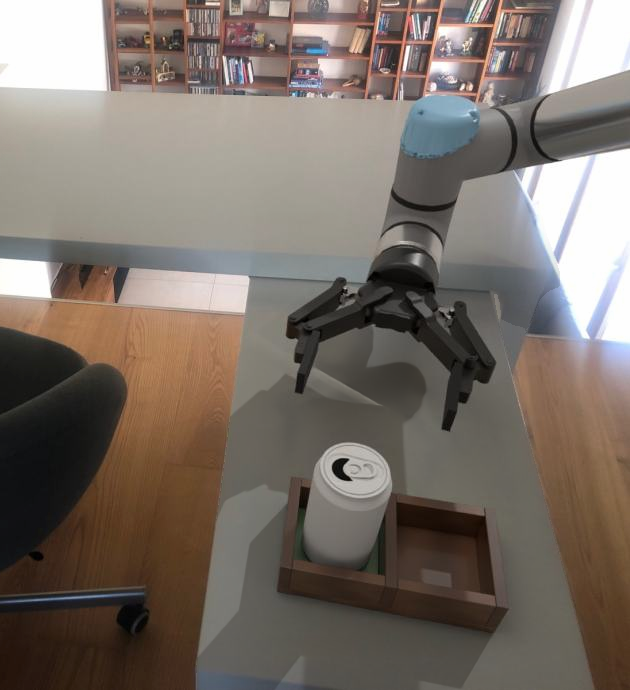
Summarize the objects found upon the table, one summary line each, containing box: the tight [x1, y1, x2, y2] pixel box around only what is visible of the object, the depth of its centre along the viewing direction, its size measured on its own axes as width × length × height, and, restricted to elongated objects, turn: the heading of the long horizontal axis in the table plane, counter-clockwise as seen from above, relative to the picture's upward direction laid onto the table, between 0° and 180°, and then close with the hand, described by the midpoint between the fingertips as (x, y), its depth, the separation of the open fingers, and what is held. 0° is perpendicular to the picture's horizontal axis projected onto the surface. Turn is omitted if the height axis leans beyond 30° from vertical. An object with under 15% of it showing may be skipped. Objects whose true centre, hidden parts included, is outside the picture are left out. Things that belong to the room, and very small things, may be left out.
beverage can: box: [302, 441, 393, 571], centre depth 61 cm, size 6×6×12 cm
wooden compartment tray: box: [276, 476, 510, 634], centre depth 63 cm, size 19×10×4 cm, turn 77°
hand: (372, 402), depth 64 cm, fingers open, 13 cm apart
